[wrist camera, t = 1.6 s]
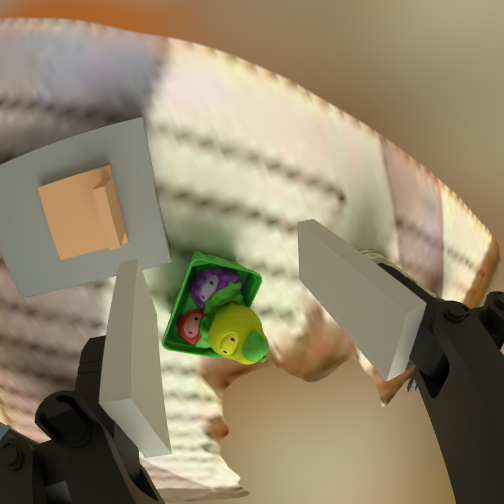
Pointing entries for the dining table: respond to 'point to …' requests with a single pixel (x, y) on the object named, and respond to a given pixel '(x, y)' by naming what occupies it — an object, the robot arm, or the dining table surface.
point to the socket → (64, 165)
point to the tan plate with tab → (84, 212)
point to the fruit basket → (217, 312)
